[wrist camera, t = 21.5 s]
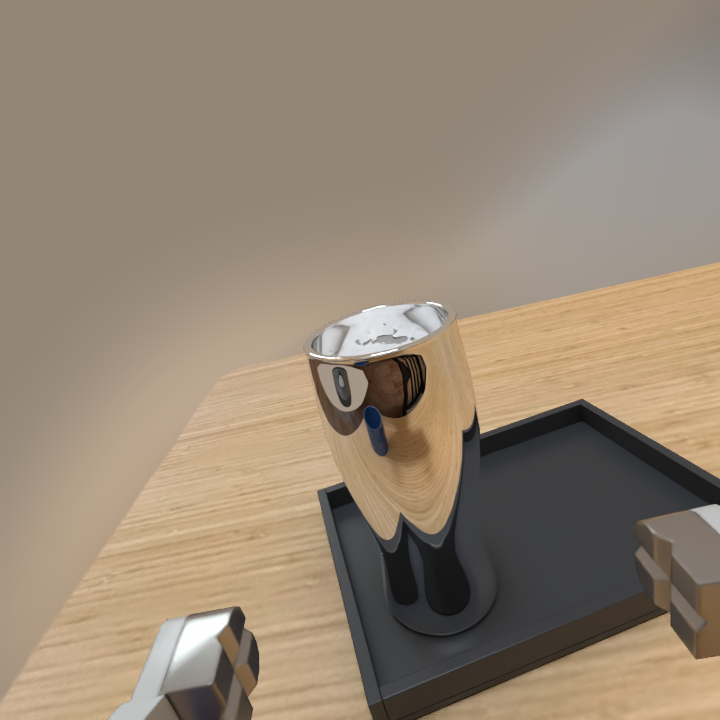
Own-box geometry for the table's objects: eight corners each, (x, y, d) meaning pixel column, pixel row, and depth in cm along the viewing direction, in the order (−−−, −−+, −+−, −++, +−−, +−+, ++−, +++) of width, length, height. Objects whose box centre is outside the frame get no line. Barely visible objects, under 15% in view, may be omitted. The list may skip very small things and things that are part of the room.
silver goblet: (439, 519, 29) (388, 294, 24) (535, 579, 24) (497, 303, 18) (352, 588, 26) (271, 345, 21) (440, 677, 20) (360, 375, 15)
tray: (378, 735, 19) (368, 706, 19) (323, 511, 33) (317, 490, 33) (797, 557, 22) (801, 526, 21) (583, 419, 36) (582, 398, 35)
